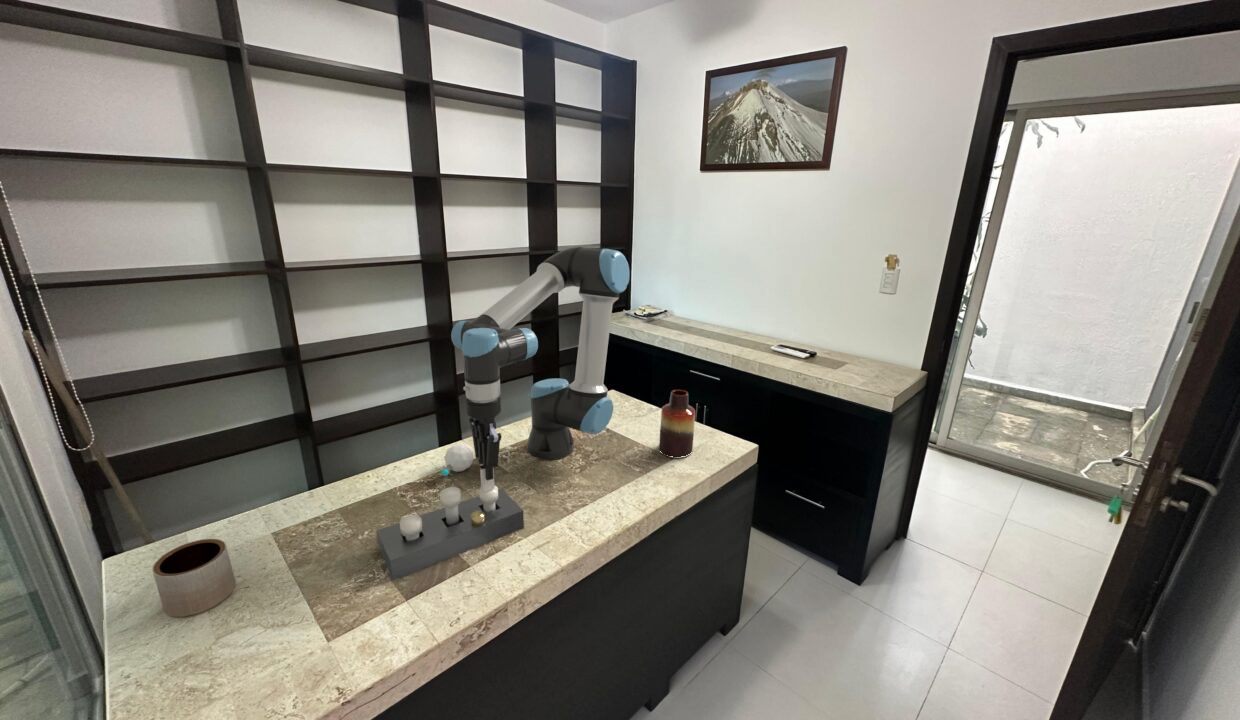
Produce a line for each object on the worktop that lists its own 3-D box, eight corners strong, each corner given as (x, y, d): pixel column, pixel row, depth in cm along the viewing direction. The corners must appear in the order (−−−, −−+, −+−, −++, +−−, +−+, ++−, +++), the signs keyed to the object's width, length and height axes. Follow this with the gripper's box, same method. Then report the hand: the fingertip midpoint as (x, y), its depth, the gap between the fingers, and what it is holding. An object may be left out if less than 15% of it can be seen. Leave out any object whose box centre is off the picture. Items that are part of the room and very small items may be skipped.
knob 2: (494, 510, 122) (493, 482, 120) (502, 519, 119) (500, 491, 117) (477, 516, 120) (476, 488, 117) (485, 525, 116) (483, 496, 114)
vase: (669, 439, 167) (673, 384, 161) (697, 449, 161) (702, 391, 155) (652, 451, 159) (656, 393, 153) (682, 461, 153) (686, 401, 147)
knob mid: (458, 514, 116) (456, 484, 114) (465, 523, 113) (463, 493, 111) (440, 520, 114) (437, 490, 111) (446, 530, 110) (443, 499, 108)
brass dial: (481, 516, 115) (481, 509, 114) (486, 522, 113) (486, 515, 112) (469, 520, 113) (468, 513, 112) (474, 527, 111) (473, 520, 110)
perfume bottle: (483, 454, 146) (462, 479, 135) (465, 464, 150) (443, 489, 139) (467, 434, 144) (444, 457, 134) (449, 445, 148) (425, 468, 137)
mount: (502, 504, 128) (501, 488, 126) (523, 528, 119) (523, 510, 117) (378, 549, 110) (376, 530, 109) (392, 580, 101) (390, 560, 100)
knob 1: (421, 542, 112) (418, 512, 110) (427, 552, 109) (424, 522, 106) (401, 549, 109) (397, 519, 107) (406, 560, 106) (402, 529, 104)
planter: (153, 626, 89) (140, 583, 86) (177, 585, 98) (165, 545, 95) (227, 609, 93) (216, 567, 90) (243, 571, 102) (233, 532, 100)
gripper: (456, 391, 113) (462, 482, 119) (478, 410, 103) (483, 507, 110) (487, 385, 117) (491, 473, 124) (511, 402, 107) (514, 496, 114)
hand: (487, 489), depth 117 cm, fingers closed
